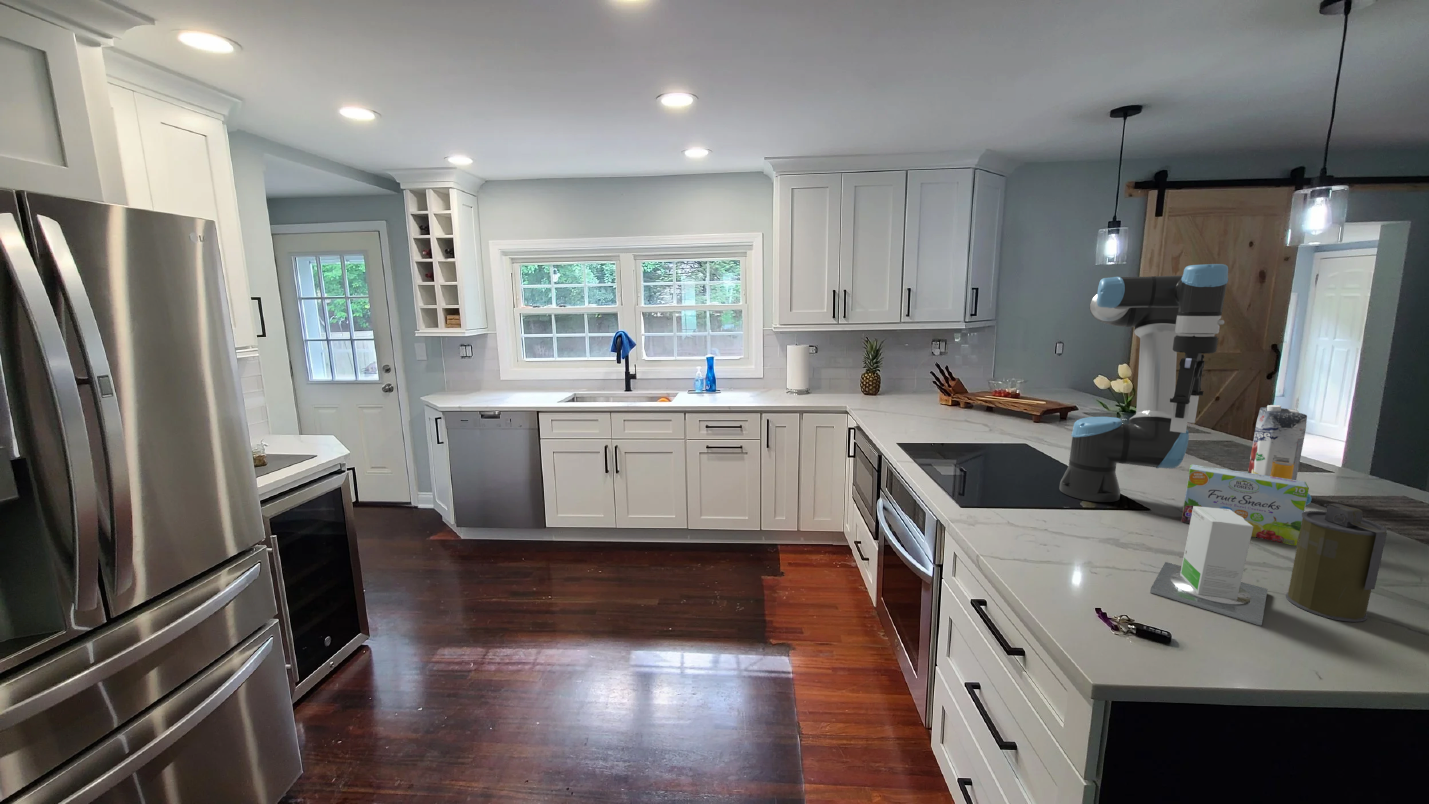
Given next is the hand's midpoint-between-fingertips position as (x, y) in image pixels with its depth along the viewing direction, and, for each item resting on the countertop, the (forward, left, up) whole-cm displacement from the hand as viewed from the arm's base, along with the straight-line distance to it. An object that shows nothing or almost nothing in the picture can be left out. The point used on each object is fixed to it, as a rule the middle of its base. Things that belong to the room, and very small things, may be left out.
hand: (1182, 426), depth 127 cm
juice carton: (+15, +61, -29) cm, 69 cm away
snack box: (+11, +21, -29) cm, 37 cm away
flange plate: (+10, -23, -29) cm, 38 cm away
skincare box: (+10, -23, -28) cm, 38 cm away
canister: (+26, -14, -29) cm, 41 cm away
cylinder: (+17, +39, -29) cm, 51 cm away
